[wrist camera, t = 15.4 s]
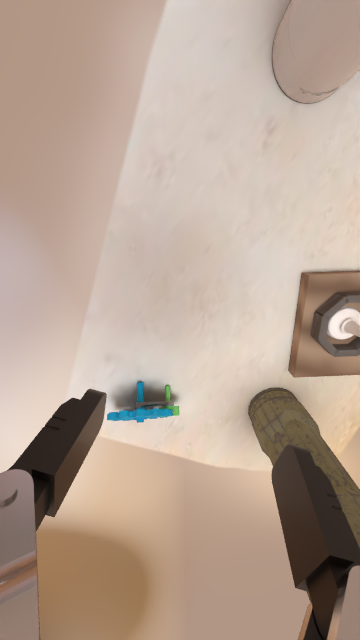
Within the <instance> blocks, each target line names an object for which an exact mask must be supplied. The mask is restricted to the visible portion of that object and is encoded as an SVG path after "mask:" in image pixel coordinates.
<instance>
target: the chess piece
mask: <svg viewBox="0 0 360 640" xmlns="http://www.w3.org/2000/svg"><path fill="white" fill-rule="evenodd" d="M327 334H328V335H329V336H331V337H333V338H336V339H347V338H350V337H352V336H353V335H356V336H358V337H360V313H359V312H358V311H357V310H355V309H354V308H352V307H348V306H344V307H342V308H341V309H340V310H339V311H337V312H336V313H335V314H334V315H333V316H332V317H330V318H329V323H328V329H327Z"/></svg>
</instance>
